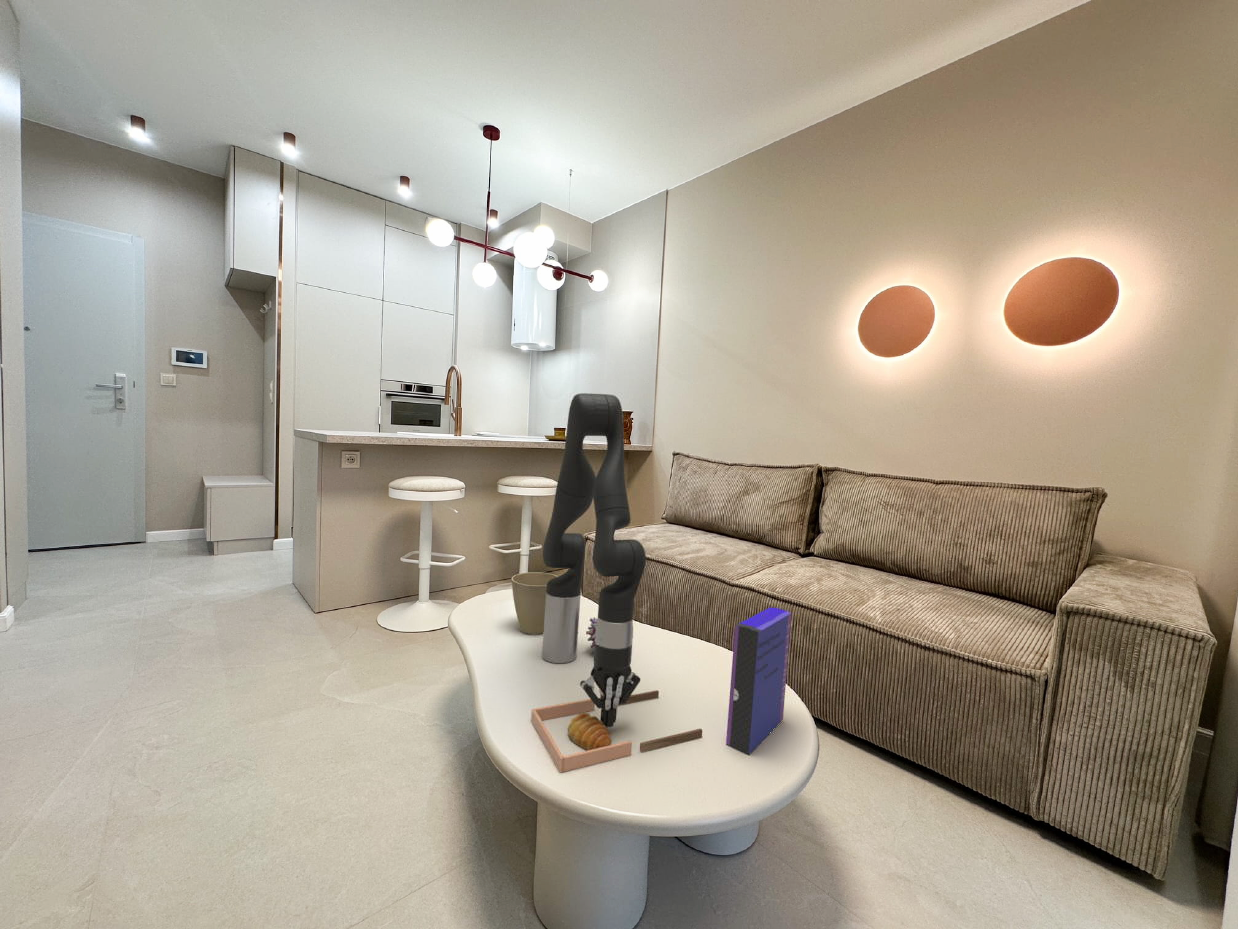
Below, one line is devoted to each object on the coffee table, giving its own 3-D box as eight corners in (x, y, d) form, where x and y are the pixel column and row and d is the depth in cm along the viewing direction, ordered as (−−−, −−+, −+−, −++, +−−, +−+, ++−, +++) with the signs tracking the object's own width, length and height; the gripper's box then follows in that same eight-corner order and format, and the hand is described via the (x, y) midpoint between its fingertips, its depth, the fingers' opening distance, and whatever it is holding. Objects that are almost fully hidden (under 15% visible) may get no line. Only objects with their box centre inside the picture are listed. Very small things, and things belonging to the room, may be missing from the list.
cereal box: (761, 712, 110) (770, 606, 109) (782, 720, 107) (791, 611, 106) (725, 744, 97) (735, 624, 96) (748, 755, 94) (758, 631, 93)
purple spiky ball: (628, 647, 141) (631, 606, 141) (624, 665, 129) (628, 620, 129) (588, 643, 142) (591, 602, 142) (581, 660, 130) (584, 616, 130)
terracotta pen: (530, 721, 100) (531, 709, 100) (593, 709, 106) (594, 698, 106) (560, 772, 85) (561, 759, 85) (630, 755, 91) (631, 742, 91)
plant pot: (503, 624, 153) (506, 573, 152) (549, 620, 159) (552, 571, 159) (514, 642, 139) (518, 586, 139) (564, 637, 145) (568, 583, 145)
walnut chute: (602, 707, 107) (602, 700, 107) (657, 696, 114) (657, 690, 114) (641, 752, 92) (641, 744, 92) (701, 737, 98) (702, 730, 98)
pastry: (620, 748, 93) (621, 729, 93) (591, 761, 89) (593, 740, 89) (590, 725, 100) (591, 707, 100) (562, 736, 96) (564, 717, 96)
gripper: (633, 629, 104) (627, 709, 105) (575, 636, 98) (570, 721, 99) (651, 642, 98) (645, 728, 98) (591, 651, 91) (584, 742, 92)
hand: (607, 725), depth 98 cm, fingers closed
